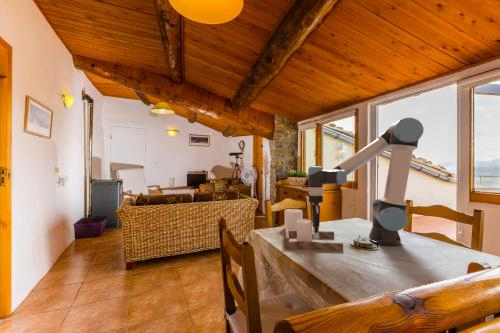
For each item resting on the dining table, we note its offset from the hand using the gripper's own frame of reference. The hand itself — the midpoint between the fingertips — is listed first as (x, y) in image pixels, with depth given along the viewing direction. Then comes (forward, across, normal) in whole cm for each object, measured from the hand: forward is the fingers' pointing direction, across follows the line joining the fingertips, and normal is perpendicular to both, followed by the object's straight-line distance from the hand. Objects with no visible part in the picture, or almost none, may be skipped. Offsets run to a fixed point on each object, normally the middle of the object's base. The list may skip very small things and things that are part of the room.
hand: (316, 237), depth 129 cm
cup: (+3, -27, -11) cm, 29 cm away
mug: (+3, 0, -5) cm, 6 cm away
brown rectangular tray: (+3, 0, -3) cm, 4 cm away
